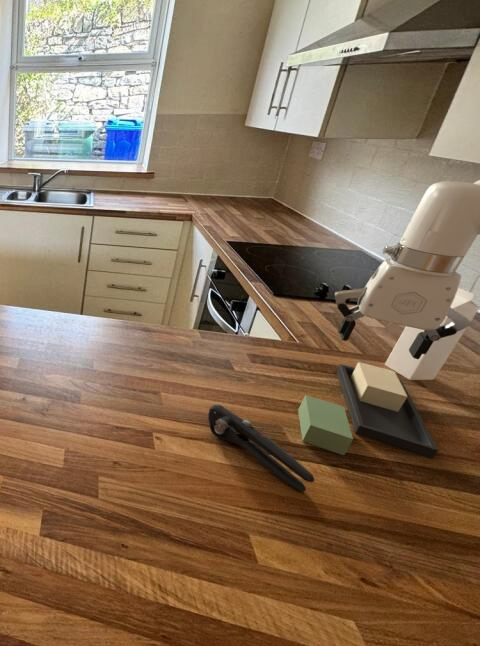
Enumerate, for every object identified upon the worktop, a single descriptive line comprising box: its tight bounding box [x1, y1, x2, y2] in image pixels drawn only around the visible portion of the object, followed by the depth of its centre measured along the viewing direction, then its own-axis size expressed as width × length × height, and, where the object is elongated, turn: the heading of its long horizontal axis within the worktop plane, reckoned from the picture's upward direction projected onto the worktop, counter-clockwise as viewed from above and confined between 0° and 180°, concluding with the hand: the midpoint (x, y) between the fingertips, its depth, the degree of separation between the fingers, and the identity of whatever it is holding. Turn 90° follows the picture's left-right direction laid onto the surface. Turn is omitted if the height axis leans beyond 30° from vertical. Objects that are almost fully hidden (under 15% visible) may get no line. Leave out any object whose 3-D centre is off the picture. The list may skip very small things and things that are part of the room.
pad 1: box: [297, 394, 354, 456], centre depth 76 cm, size 6×10×4 cm, turn 147°
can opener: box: [207, 404, 315, 493], centre depth 70 cm, size 18×7×6 cm, turn 23°
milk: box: [384, 287, 480, 381], centre depth 90 cm, size 6×6×22 cm
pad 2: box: [351, 361, 407, 412], centre depth 86 cm, size 6×10×4 cm, turn 147°
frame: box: [336, 363, 439, 459], centre depth 83 cm, size 11×24×2 cm, turn 147°
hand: (377, 346), depth 74 cm, fingers open, 9 cm apart
